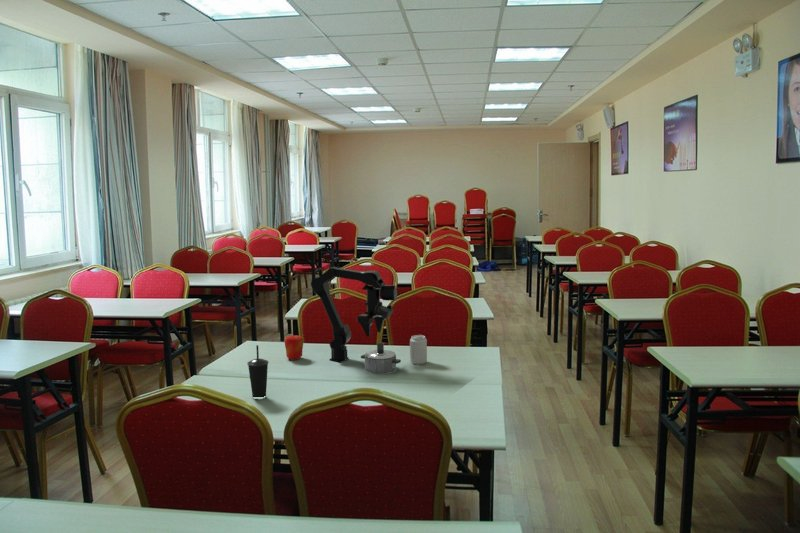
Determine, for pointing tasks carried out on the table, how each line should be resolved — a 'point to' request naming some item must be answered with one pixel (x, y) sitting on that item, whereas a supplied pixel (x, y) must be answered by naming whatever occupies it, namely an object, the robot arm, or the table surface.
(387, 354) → the lid
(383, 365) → the pot
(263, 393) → the drinking cup
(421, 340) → the can
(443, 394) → the table surface
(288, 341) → the red bell pepper
